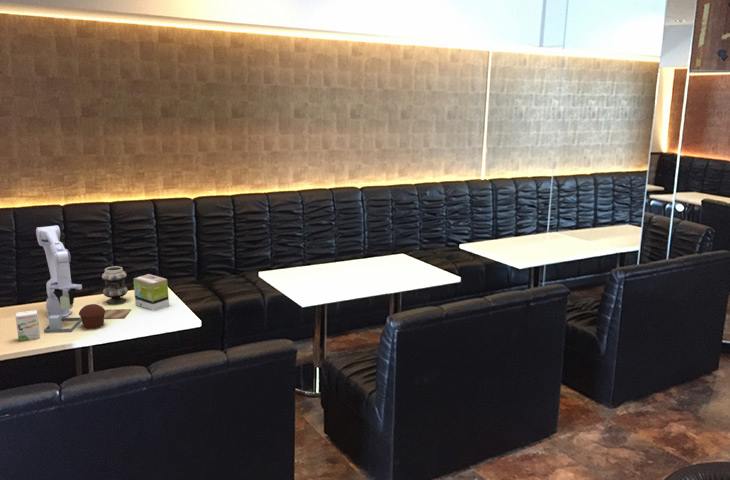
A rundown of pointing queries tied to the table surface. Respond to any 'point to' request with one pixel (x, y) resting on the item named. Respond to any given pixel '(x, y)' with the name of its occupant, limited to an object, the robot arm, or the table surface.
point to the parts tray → (48, 330)
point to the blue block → (55, 322)
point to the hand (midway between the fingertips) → (66, 304)
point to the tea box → (151, 292)
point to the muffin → (92, 316)
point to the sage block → (65, 302)
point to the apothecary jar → (114, 285)
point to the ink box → (27, 325)
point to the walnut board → (116, 313)
